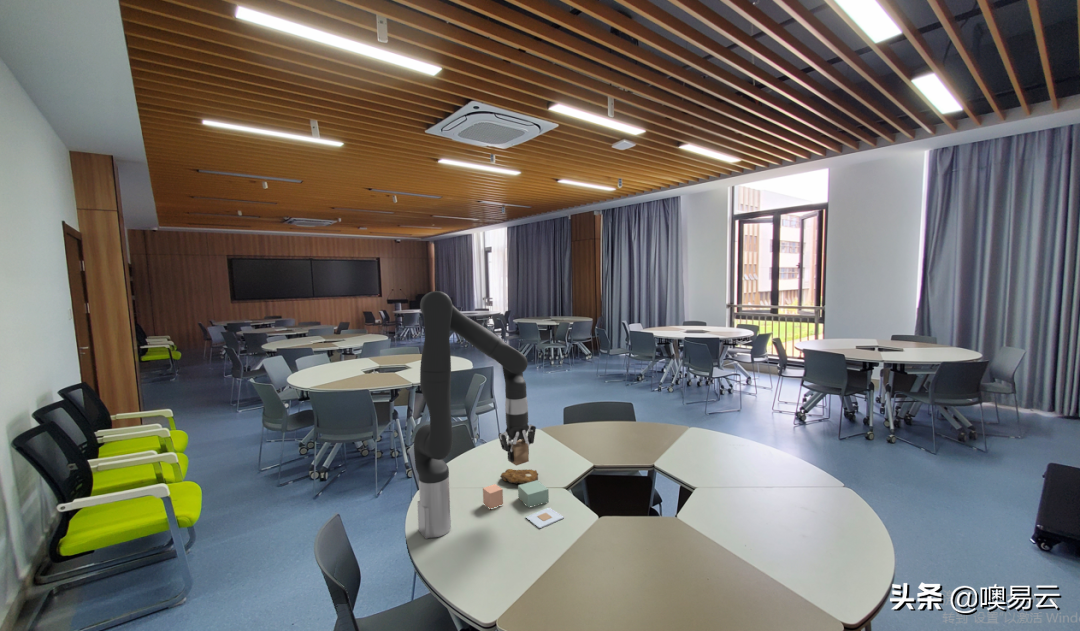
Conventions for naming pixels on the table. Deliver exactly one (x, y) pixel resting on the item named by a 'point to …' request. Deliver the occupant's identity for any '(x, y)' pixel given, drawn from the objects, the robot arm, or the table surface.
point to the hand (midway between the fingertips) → (518, 458)
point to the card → (544, 517)
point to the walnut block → (520, 453)
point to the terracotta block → (492, 496)
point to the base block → (533, 493)
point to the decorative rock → (519, 476)
